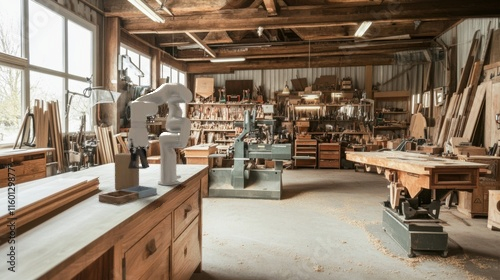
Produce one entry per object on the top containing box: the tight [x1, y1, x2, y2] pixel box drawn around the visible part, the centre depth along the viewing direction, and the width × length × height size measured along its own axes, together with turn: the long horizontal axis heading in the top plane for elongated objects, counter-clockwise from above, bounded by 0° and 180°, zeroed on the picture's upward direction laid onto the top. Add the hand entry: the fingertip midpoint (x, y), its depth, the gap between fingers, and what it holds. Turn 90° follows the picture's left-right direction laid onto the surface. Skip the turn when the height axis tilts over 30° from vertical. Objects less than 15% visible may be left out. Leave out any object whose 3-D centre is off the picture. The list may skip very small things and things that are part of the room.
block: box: [114, 152, 140, 191], centre depth 177 cm, size 10×10×20 cm
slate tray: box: [122, 185, 158, 199], centre depth 164 cm, size 12×12×3 cm
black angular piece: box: [128, 146, 150, 170], centre depth 164 cm, size 9×6×12 cm, turn 91°
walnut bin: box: [98, 190, 139, 205], centre depth 153 cm, size 12×12×3 cm
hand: (138, 159), depth 164 cm, fingers closed on black angular piece, 6 cm apart
